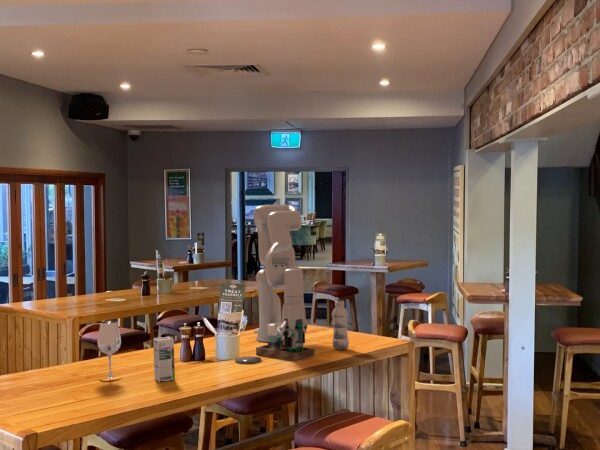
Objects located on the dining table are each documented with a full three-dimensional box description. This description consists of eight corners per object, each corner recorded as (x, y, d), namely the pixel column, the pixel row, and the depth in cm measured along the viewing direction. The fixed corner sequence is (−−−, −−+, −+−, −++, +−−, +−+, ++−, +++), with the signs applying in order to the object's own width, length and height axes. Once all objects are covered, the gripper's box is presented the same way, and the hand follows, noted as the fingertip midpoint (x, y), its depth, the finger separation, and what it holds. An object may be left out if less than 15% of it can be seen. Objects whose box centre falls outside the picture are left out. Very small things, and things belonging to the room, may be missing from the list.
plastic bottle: (349, 351, 274) (348, 301, 273) (332, 351, 274) (331, 302, 273) (348, 347, 280) (347, 299, 279) (332, 348, 280) (331, 299, 280)
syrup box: (158, 382, 230) (157, 340, 230) (154, 379, 235) (153, 337, 235) (175, 380, 233) (174, 338, 232) (170, 376, 238) (169, 335, 238)
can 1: (264, 354, 271) (264, 324, 270) (274, 351, 275) (274, 322, 275) (276, 356, 267) (275, 326, 266) (286, 353, 272) (285, 323, 271)
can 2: (284, 358, 263) (284, 319, 263) (291, 355, 269) (290, 317, 268) (299, 359, 261) (298, 320, 260) (305, 356, 267) (304, 318, 266)
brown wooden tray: (256, 354, 270) (256, 347, 270) (274, 350, 279) (274, 342, 279) (297, 361, 257) (297, 353, 257) (314, 356, 266) (314, 348, 266)
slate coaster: (229, 361, 259) (229, 360, 259) (247, 356, 267) (247, 355, 267) (249, 365, 253) (248, 363, 253) (266, 360, 261) (266, 358, 261)
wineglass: (126, 376, 239) (124, 320, 239) (113, 382, 232) (111, 324, 231) (107, 375, 242) (105, 319, 241) (94, 380, 234) (92, 323, 234)
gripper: (300, 296, 273) (301, 340, 274) (272, 302, 260) (273, 347, 260) (315, 298, 269) (315, 342, 269) (287, 303, 255) (288, 350, 256)
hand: (294, 344), depth 265 cm, fingers open, 7 cm apart
